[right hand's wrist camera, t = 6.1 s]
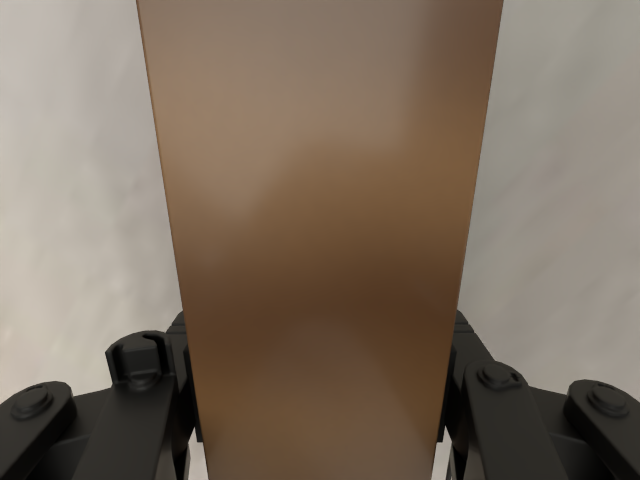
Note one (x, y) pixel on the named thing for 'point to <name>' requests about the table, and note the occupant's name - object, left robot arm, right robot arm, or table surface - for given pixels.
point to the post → (319, 220)
